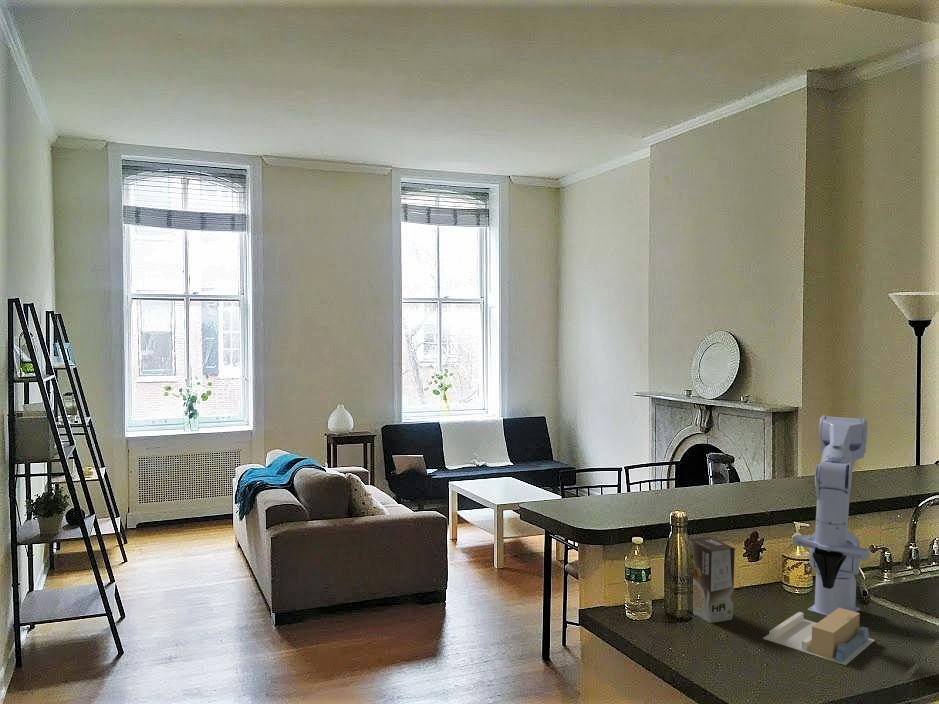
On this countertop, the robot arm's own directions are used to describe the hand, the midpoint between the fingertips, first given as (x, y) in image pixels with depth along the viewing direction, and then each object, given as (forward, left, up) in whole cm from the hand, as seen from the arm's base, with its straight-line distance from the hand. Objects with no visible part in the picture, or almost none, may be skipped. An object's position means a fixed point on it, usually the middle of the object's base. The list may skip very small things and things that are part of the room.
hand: (828, 587), depth 159 cm
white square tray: (+4, 0, -10) cm, 11 cm away
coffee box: (+8, -22, -11) cm, 26 cm away
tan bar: (+4, +3, -10) cm, 11 cm away
